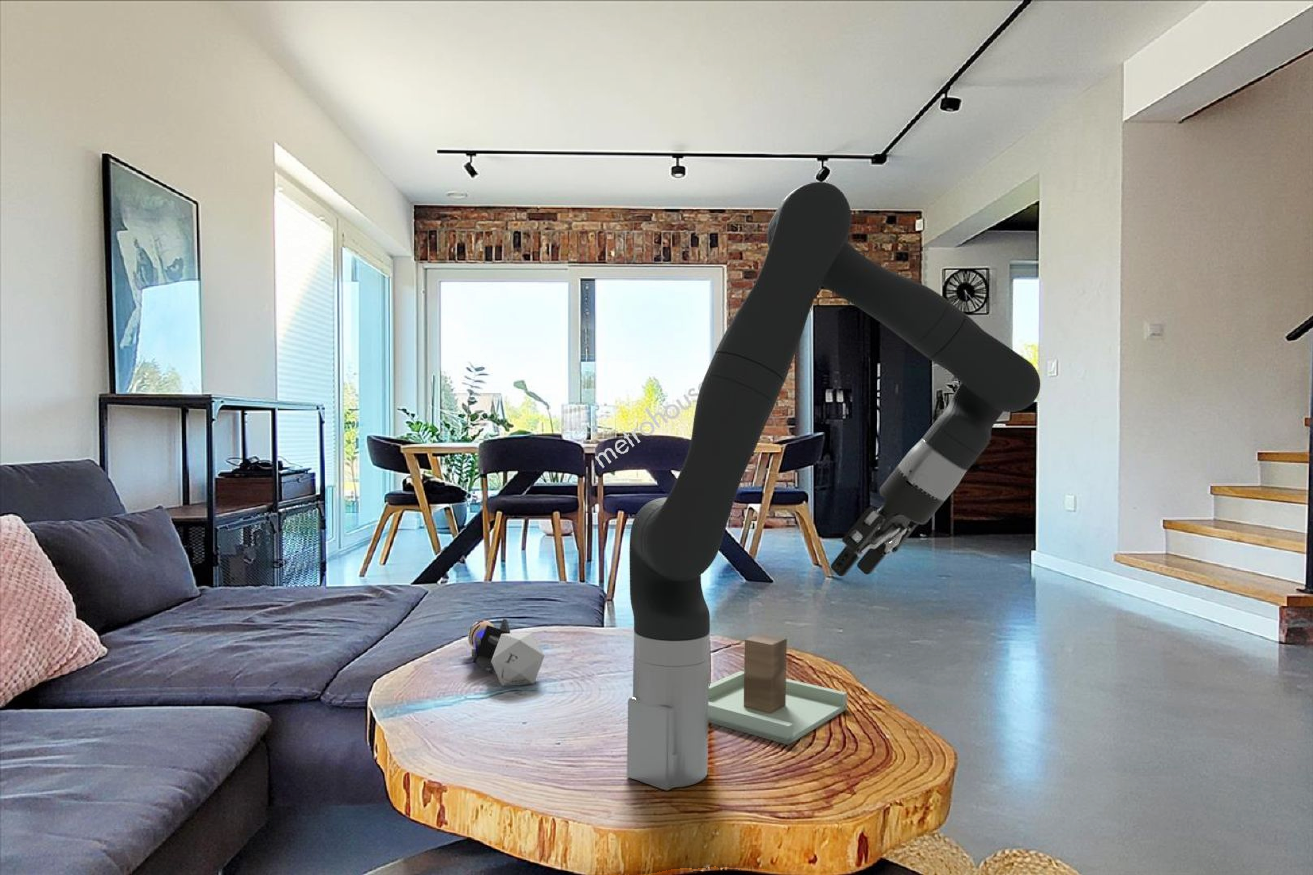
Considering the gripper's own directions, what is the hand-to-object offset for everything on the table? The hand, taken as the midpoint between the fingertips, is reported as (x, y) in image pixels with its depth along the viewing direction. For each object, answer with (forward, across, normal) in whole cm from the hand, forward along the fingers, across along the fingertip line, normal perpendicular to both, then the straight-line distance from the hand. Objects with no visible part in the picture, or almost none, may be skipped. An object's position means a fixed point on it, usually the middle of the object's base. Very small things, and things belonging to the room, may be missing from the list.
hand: (849, 571), depth 115 cm
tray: (+26, -2, +3) cm, 26 cm away
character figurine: (+56, +8, -37) cm, 67 cm away
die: (+49, +12, -27) cm, 58 cm away
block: (+25, -2, +2) cm, 25 cm away
